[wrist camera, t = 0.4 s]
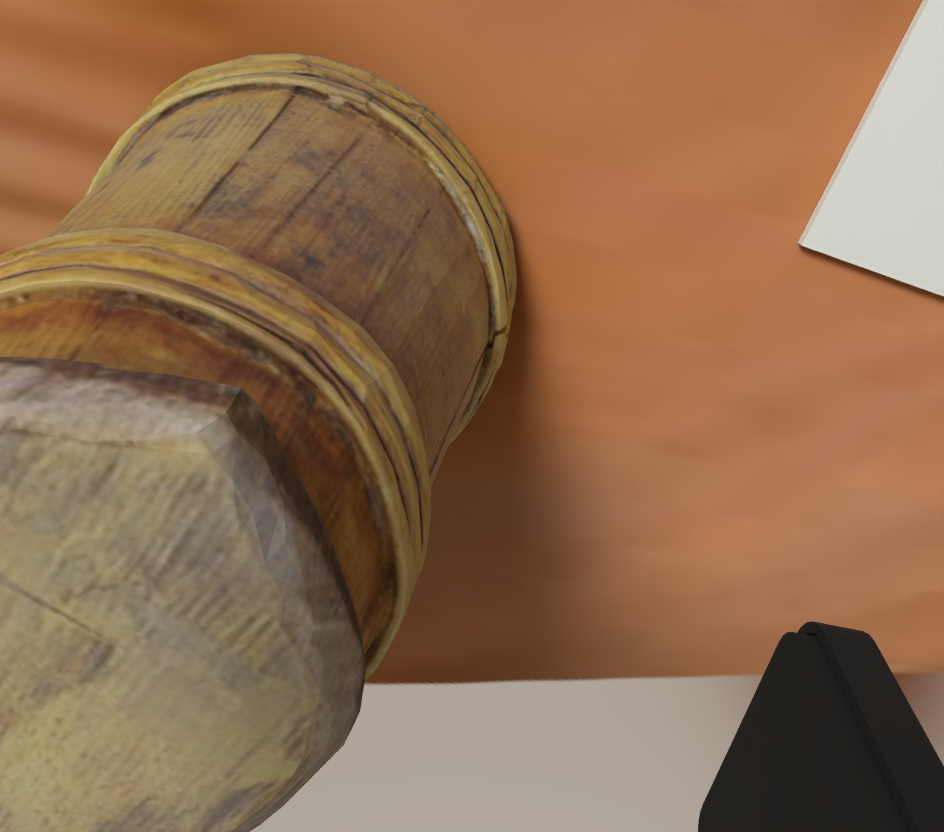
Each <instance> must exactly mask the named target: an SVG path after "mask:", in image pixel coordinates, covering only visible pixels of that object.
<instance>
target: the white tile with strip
mask: <svg viewBox="0 0 944 832" xmlns="http://www.w3.org/2000/svg"><path fill="white" fill-rule="evenodd" d="M798 243H799V244H800V245H801V246H804V247H807V248H810V249H812V250H815V251H818V252H821V253H824V254H826V255H829V256H832V257H835V258H838V259H840V260H843V261H846V262H849V263H852V264H854V265H857V266H860V267H863V268H865V269H868V270H871V271H874V272H877V273H879V274H882V275H885V276H888V277H891V278H893V279H896V280H899V281H902V282H905V283H907V284H910V285H913V286H916V287H919V288H921V289H924V290H927V291H930V292H932V293H935V294H938V295H941V296H944V0H923V1H922V3H921V5H920V7H919V9H918V11H917V13H916V14H915V16H914V18H913V20H912V22H911V24H910V26H909V28H908V30H907V32H906V34H905V36H904V38H903V40H902V42H901V44H900V45H899V47H898V49H897V51H896V53H895V55H894V57H893V59H892V61H891V63H890V65H889V67H888V69H887V71H886V73H885V75H884V76H883V78H882V80H881V82H880V84H879V86H878V88H877V90H876V92H875V94H874V96H873V98H872V100H871V102H870V104H869V106H868V107H867V109H866V111H865V113H864V115H863V117H862V119H861V121H860V123H859V125H858V127H857V129H856V131H855V133H854V135H853V137H852V139H851V140H850V142H849V144H848V146H847V148H846V150H845V152H844V154H843V156H842V158H841V160H840V162H839V164H838V166H837V168H836V170H835V171H834V173H833V175H832V177H831V179H830V181H829V183H828V185H827V187H826V189H825V191H824V193H823V195H822V197H821V199H820V201H819V202H818V204H817V206H816V208H815V210H814V212H813V214H812V216H811V218H810V220H809V222H808V224H807V226H806V228H805V230H804V232H803V233H802V235H801V237H800V239H799V241H798Z"/></svg>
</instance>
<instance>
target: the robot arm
mask: <svg viewBox="0 0 944 832" xmlns="http://www.w3.org/2000/svg"><path fill="white" fill-rule="evenodd" d="M698 832H944V766H943V765H942V762H941V761H940V759H939V757H938V755H937V753H936V752H935V750H934V748H933V746H932V744H931V743H930V741H929V739H928V737H927V735H926V733H925V732H924V730H923V728H922V726H921V724H920V723H919V721H918V719H917V717H916V716H915V714H914V712H913V710H912V708H911V706H910V705H909V703H908V701H907V699H906V697H905V695H904V694H903V692H902V690H901V688H900V686H899V685H898V683H897V681H896V679H895V677H894V676H893V674H892V672H891V670H890V668H889V666H888V665H887V663H886V661H885V659H884V657H883V656H882V654H881V652H880V650H879V648H878V647H877V645H876V643H875V641H874V640H873V639H872V637H871V636H870V635H869V634H867V633H865V632H863V631H859V630H854V629H849V628H844V627H838V626H833V625H828V624H823V623H818V622H807V623H806V624H804V625H803V626H802V627H801V628H800V629H799V631H798V633H795V632H787V633H786V634H785V635H783V636H782V638H781V640H780V641H779V643H778V645H777V647H776V650H775V652H774V654H773V656H772V658H771V660H770V662H769V664H768V667H767V669H766V671H765V673H764V675H763V677H762V679H761V682H760V684H759V686H758V688H757V690H756V692H755V694H754V697H753V699H752V701H751V703H750V705H749V707H748V709H747V712H746V714H745V716H744V718H743V720H742V722H741V724H740V726H739V729H738V731H737V733H736V735H735V737H734V740H733V741H732V744H731V746H730V748H729V750H728V752H727V754H726V756H725V759H724V761H723V763H722V765H721V767H720V769H719V771H718V773H717V776H716V778H715V780H714V782H713V784H712V786H711V789H710V791H709V793H708V795H707V797H706V799H705V801H704V803H703V806H702V809H701V811H700V816H699V824H698Z"/></svg>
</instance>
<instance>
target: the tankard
mask: <svg viewBox="0 0 944 832" xmlns="http://www.w3.org/2000/svg"><path fill="white" fill-rule="evenodd" d="M516 288H517V272H516V262H515V253H514V245H513V240H512V236H511V232H510V228H509V223H508V219H507V215H506V211H505V209H504V207H503V206H502V204H501V202H500V201H499V199H498V198H497V196H496V194H495V193H494V191H493V189H492V188H491V186H490V184H489V183H488V181H487V179H486V178H485V176H484V174H483V173H482V171H481V169H480V168H479V166H478V165H477V163H476V162H475V160H474V158H473V157H472V155H471V154H470V152H469V151H468V150H467V149H466V148H465V146H464V145H463V144H462V143H461V142H460V141H459V140H458V139H457V137H456V136H455V135H454V133H453V132H452V131H451V129H450V128H449V127H448V126H447V125H446V124H445V123H444V122H443V121H442V120H441V118H440V117H439V116H438V115H437V114H436V113H435V112H434V111H433V110H432V109H430V108H429V107H427V106H426V105H424V104H423V103H422V102H420V101H419V100H417V99H416V98H414V97H413V96H412V95H410V94H409V93H407V92H406V91H404V90H402V89H400V88H398V87H396V86H394V85H392V84H390V83H389V82H387V81H385V80H383V79H381V78H379V77H377V76H375V75H374V74H372V73H369V72H366V71H363V70H360V69H357V68H354V67H351V66H348V65H345V64H342V63H339V62H336V61H333V60H330V59H327V58H323V57H318V56H311V55H303V54H296V53H288V54H262V55H248V56H245V57H241V58H238V59H234V60H230V61H227V62H223V63H219V64H215V65H211V66H207V67H203V68H200V69H196V70H194V71H192V72H190V73H188V74H187V75H185V76H184V77H182V78H181V79H179V80H178V81H176V82H175V83H173V84H172V85H170V86H169V87H167V88H166V89H164V90H163V91H162V92H161V93H160V94H159V95H158V96H157V97H156V98H155V99H154V100H153V101H152V102H151V103H150V105H149V106H148V107H147V108H146V110H145V111H144V112H143V114H142V115H141V116H140V117H139V118H138V119H137V120H136V122H135V123H134V124H133V125H132V126H131V127H130V128H129V129H127V130H126V131H125V132H124V133H123V134H122V135H121V136H120V137H119V139H118V141H117V142H116V144H115V145H114V147H113V149H112V150H111V152H110V154H109V155H108V157H107V158H106V160H105V161H104V163H103V164H102V165H101V167H100V168H99V170H98V171H97V172H96V174H95V175H94V177H93V179H92V181H91V184H90V186H89V189H88V191H87V193H86V196H85V198H84V199H83V200H82V201H81V202H79V203H78V204H77V205H76V206H75V207H74V208H73V209H72V210H71V211H70V212H69V214H68V215H67V216H66V217H65V218H64V219H63V220H62V221H61V222H60V223H59V224H58V225H57V226H56V227H55V228H54V229H53V230H52V231H51V232H50V233H48V234H47V235H46V236H45V237H44V238H43V239H42V240H40V241H37V242H34V243H31V244H28V245H25V246H22V247H19V248H16V249H13V250H10V251H8V252H6V253H4V254H2V255H0V832H250V831H251V830H253V829H254V828H256V827H257V826H259V825H260V824H262V823H263V822H264V821H265V820H266V819H268V818H269V817H270V816H271V815H272V814H273V813H275V812H276V811H277V810H279V809H280V808H281V807H282V806H283V805H284V804H285V803H287V801H289V799H291V798H292V797H293V796H294V795H295V794H296V793H297V792H298V791H299V789H300V788H302V786H304V785H305V783H307V781H309V779H311V777H312V776H313V775H314V774H315V773H316V772H317V771H318V770H319V769H320V768H321V767H322V766H323V765H324V764H325V763H326V762H327V761H328V760H329V759H330V758H331V757H332V756H333V755H334V754H335V753H336V752H337V751H338V750H339V749H340V748H341V747H342V746H343V745H344V743H345V741H346V739H347V737H348V735H349V733H350V731H351V729H352V727H353V725H354V723H355V721H356V718H357V716H358V714H359V712H360V707H361V701H362V694H363V687H364V681H365V680H366V679H367V678H368V677H369V676H370V675H371V674H372V673H373V672H374V671H375V670H376V669H377V668H378V667H379V665H380V664H381V662H382V660H383V658H384V656H385V655H386V653H387V651H388V649H389V647H390V646H391V644H392V642H393V640H394V638H395V637H396V635H397V633H398V630H399V628H400V626H401V623H402V621H403V618H404V616H405V614H406V611H407V609H408V607H409V604H410V598H411V595H412V593H413V591H414V588H415V583H416V581H417V579H418V577H419V575H420V573H421V571H422V569H423V567H424V562H425V556H426V551H427V545H428V540H429V534H430V526H431V487H432V485H433V482H434V480H435V477H436V475H437V472H438V470H439V468H440V465H441V463H442V460H443V458H444V456H445V453H446V451H447V449H448V446H449V444H450V443H452V442H453V441H454V440H455V439H456V437H457V436H458V435H459V434H460V433H461V431H462V430H463V429H464V428H465V427H466V425H467V424H468V423H469V421H470V420H471V418H472V417H473V415H474V414H475V412H476V411H477V409H478V408H479V406H480V405H481V403H482V401H483V400H484V398H485V396H486V394H487V393H488V391H489V389H490V387H491V385H492V382H493V379H494V376H495V374H496V373H497V371H498V370H499V368H500V366H501V364H502V361H503V357H504V353H505V349H506V345H507V341H508V337H509V332H510V325H511V318H512V309H513V307H514V305H515V296H516Z"/></svg>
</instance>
